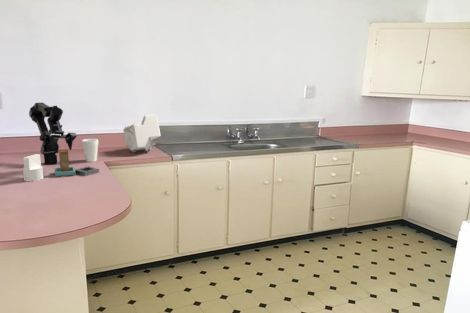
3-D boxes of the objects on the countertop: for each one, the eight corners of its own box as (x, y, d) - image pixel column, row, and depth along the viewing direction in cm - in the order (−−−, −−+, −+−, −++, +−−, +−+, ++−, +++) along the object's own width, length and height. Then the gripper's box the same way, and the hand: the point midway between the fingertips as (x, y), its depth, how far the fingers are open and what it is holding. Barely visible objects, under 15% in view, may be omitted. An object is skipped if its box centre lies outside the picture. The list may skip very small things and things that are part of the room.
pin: (60, 172, 209) (58, 148, 206) (67, 171, 211) (65, 148, 208) (62, 173, 206) (60, 150, 203) (69, 172, 209) (67, 149, 206)
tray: (55, 177, 202) (54, 172, 202) (54, 172, 211) (54, 168, 211) (75, 175, 207) (75, 171, 206) (74, 171, 216) (74, 166, 215)
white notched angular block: (136, 152, 254) (129, 115, 255) (126, 156, 266) (119, 120, 267) (163, 149, 267) (156, 114, 269) (152, 153, 279) (146, 119, 280)
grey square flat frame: (74, 173, 211) (74, 169, 211) (88, 169, 219) (88, 166, 218) (85, 175, 207) (85, 172, 206) (99, 172, 214) (99, 168, 214)
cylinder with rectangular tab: (35, 181, 194) (33, 158, 191) (19, 180, 196) (17, 157, 193) (47, 177, 203) (45, 154, 200) (32, 175, 204) (30, 153, 202)
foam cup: (88, 163, 234) (87, 142, 231) (80, 160, 239) (78, 140, 237) (102, 160, 241) (101, 140, 239) (93, 158, 247) (92, 138, 244)
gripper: (64, 134, 227) (71, 157, 223) (31, 133, 212) (39, 157, 208) (73, 123, 222) (81, 147, 217) (40, 121, 207) (48, 146, 202)
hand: (62, 149), depth 211 cm, fingers open, 9 cm apart
